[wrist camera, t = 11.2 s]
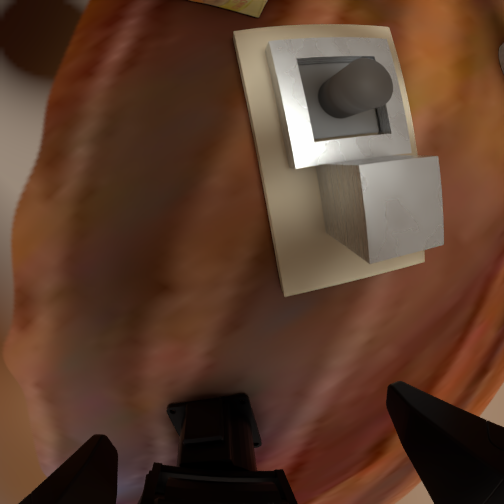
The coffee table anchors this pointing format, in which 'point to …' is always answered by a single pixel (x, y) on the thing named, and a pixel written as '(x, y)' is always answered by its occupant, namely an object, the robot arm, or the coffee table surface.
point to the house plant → (501, 56)
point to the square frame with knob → (360, 157)
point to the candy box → (239, 5)
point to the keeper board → (323, 128)
